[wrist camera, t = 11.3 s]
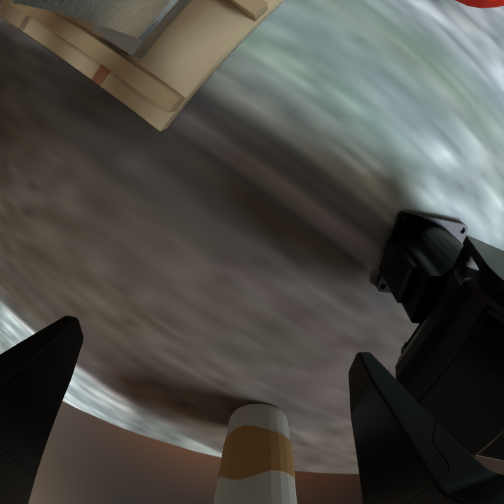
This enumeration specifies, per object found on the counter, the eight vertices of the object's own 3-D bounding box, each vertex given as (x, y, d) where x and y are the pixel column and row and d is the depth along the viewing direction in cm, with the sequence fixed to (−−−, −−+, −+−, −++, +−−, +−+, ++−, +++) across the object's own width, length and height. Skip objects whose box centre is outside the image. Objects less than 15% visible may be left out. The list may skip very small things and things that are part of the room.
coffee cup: (241, 438, 35) (234, 546, 21) (207, 405, 31) (188, 532, 18) (305, 425, 33) (312, 541, 19) (279, 389, 29) (281, 531, 16)
